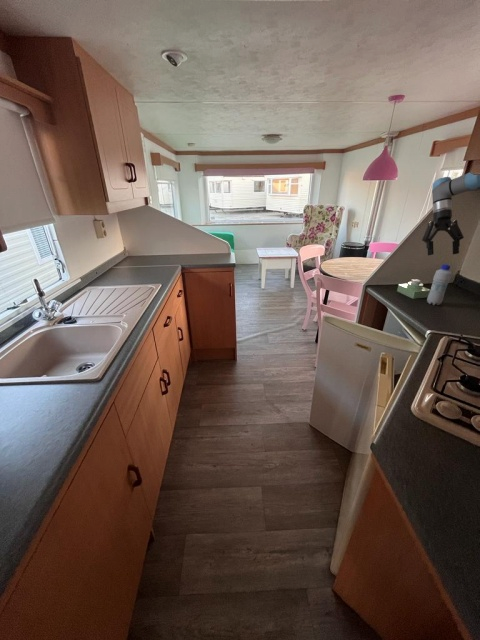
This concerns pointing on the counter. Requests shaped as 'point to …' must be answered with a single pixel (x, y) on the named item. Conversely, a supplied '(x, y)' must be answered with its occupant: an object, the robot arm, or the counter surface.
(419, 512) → the counter surface
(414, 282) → the pump
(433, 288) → the bottle
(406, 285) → the dispenser
